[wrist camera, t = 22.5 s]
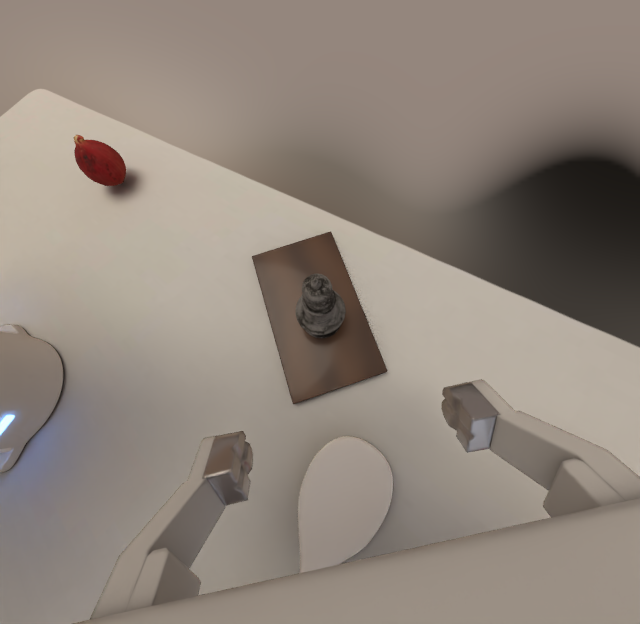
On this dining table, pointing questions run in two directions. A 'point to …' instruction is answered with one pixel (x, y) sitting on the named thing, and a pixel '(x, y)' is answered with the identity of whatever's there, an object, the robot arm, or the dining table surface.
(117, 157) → the onion
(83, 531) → the dining table surface
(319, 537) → the spoon
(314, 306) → the grey chess piece
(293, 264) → the walnut board
